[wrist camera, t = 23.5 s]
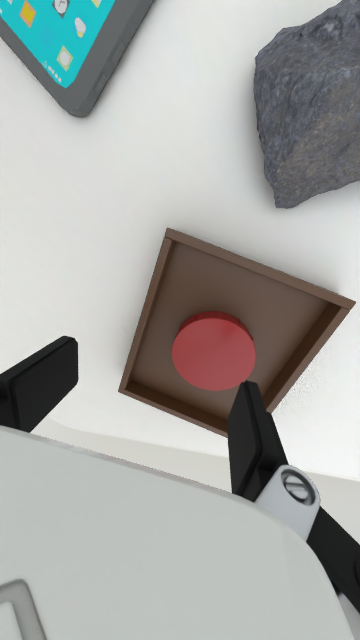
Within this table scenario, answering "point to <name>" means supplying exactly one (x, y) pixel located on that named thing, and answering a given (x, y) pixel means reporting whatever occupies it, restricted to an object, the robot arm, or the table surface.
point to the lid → (214, 351)
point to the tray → (239, 301)
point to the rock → (311, 105)
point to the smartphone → (71, 43)
